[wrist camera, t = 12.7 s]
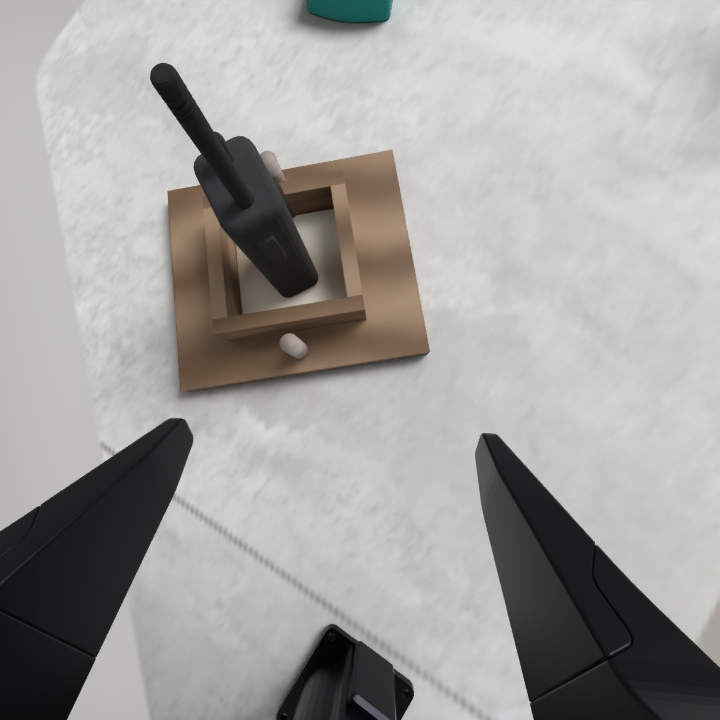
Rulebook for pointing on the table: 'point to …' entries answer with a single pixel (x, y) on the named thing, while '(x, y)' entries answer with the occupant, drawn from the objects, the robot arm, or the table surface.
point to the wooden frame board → (311, 307)
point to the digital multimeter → (351, 9)
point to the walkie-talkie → (241, 193)
